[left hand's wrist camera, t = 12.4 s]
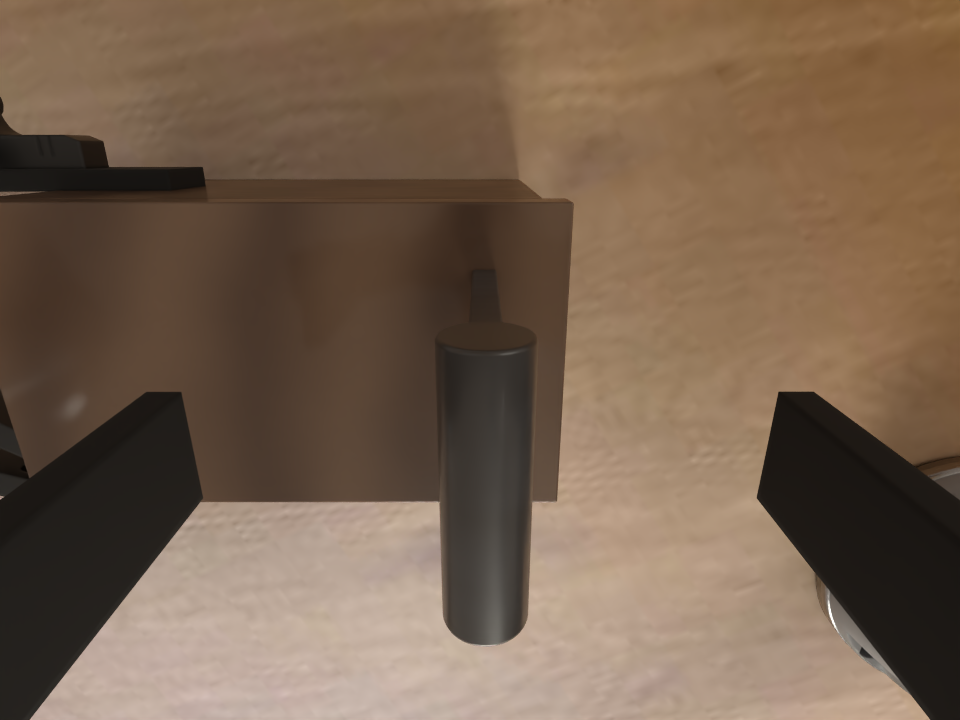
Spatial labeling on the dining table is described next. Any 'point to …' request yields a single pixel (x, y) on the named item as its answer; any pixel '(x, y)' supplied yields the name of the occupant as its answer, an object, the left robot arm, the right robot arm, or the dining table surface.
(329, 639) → the dining table surface
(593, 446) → the dining table surface
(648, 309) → the dining table surface
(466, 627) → the lid
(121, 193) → the chest
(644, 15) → the dining table surface
